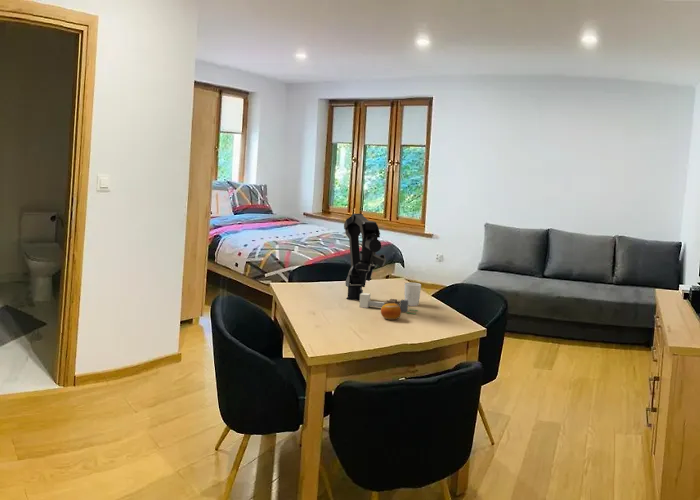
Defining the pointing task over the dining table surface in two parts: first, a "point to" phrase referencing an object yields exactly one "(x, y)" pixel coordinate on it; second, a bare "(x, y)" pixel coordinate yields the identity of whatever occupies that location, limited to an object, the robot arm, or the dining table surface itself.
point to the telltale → (404, 305)
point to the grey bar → (368, 301)
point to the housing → (397, 304)
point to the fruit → (391, 311)
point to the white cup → (412, 293)
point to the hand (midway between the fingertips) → (366, 282)
